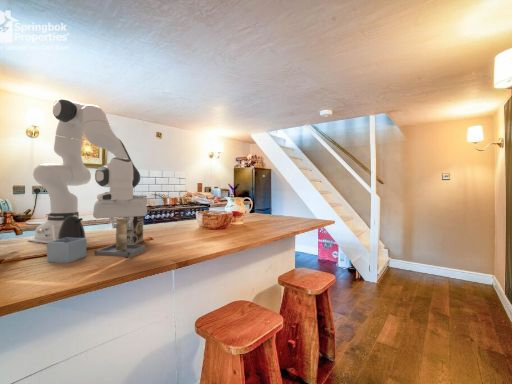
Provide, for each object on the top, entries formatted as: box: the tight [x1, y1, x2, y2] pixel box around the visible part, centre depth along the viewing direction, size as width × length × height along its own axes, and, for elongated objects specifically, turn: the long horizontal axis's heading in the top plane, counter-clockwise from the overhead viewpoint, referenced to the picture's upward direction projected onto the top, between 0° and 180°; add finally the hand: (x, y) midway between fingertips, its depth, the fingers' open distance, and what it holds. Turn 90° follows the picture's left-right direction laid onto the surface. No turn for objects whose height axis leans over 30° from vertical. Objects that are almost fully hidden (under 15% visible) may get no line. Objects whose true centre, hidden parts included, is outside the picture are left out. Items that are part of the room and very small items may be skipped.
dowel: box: [115, 217, 127, 250], centre depth 105 cm, size 4×4×13 cm
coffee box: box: [122, 216, 144, 245], centre depth 123 cm, size 9×6×16 cm
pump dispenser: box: [57, 216, 87, 240], centre depth 108 cm, size 10×10×15 cm
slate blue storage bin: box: [46, 237, 87, 264], centre depth 93 cm, size 8×8×8 cm
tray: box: [94, 243, 147, 259], centre depth 105 cm, size 15×12×2 cm
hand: (121, 227), depth 105 cm, fingers closed on dowel, 4 cm apart
